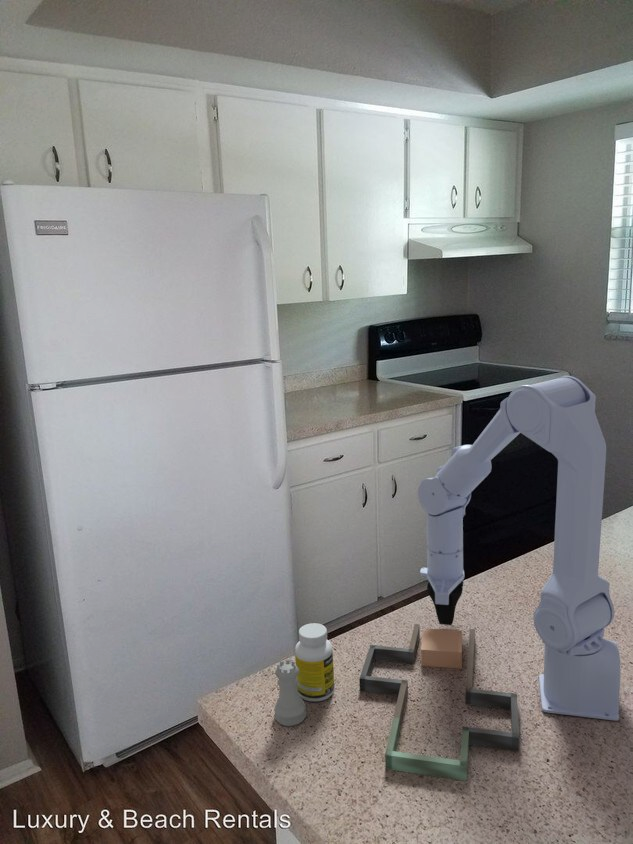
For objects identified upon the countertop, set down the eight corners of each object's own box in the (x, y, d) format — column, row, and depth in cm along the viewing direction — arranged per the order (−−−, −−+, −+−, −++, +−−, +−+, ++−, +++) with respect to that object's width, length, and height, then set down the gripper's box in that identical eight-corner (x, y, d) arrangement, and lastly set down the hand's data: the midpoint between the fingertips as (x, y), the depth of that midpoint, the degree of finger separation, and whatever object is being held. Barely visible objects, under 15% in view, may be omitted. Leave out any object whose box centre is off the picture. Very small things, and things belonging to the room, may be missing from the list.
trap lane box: (514, 644, 102) (514, 632, 102) (520, 789, 74) (520, 774, 74) (378, 631, 108) (378, 620, 107) (337, 761, 80) (336, 747, 80)
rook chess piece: (282, 732, 86) (278, 679, 84) (269, 713, 90) (264, 662, 88) (312, 720, 88) (309, 668, 86) (298, 702, 91) (294, 651, 90)
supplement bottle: (331, 704, 90) (327, 642, 88) (293, 701, 92) (289, 639, 89) (337, 680, 96) (334, 621, 93) (302, 678, 97) (297, 619, 95)
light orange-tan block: (461, 647, 103) (461, 630, 102) (461, 670, 97) (461, 652, 96) (423, 645, 104) (423, 628, 103) (421, 667, 98) (421, 649, 97)
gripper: (424, 527, 112) (426, 599, 115) (414, 565, 99) (416, 644, 102) (466, 529, 110) (466, 602, 113) (461, 568, 97) (462, 649, 100)
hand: (445, 622), depth 107 cm, fingers closed
